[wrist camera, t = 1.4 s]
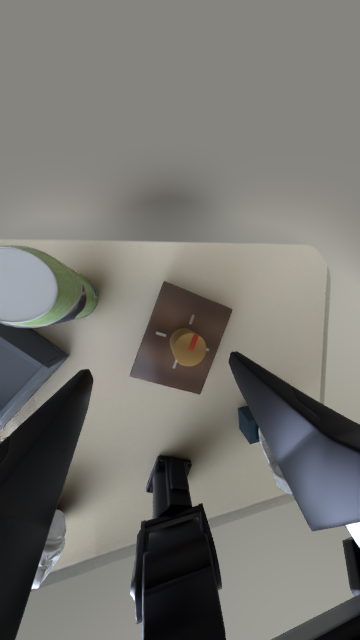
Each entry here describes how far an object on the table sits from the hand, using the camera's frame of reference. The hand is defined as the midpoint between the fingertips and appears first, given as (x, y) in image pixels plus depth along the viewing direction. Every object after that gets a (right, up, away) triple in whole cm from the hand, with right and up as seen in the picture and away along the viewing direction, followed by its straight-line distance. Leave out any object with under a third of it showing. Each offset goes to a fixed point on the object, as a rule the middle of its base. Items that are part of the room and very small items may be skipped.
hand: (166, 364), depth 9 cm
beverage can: (-13, +6, +12) cm, 19 cm away
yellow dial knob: (+1, 0, +12) cm, 12 cm away
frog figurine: (-19, -28, +14) cm, 37 cm away
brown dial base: (+1, 0, +15) cm, 14 cm away
